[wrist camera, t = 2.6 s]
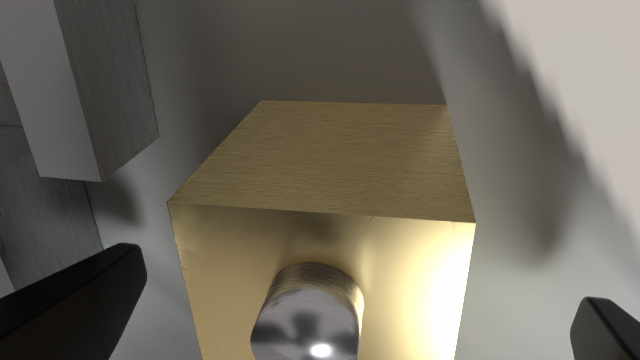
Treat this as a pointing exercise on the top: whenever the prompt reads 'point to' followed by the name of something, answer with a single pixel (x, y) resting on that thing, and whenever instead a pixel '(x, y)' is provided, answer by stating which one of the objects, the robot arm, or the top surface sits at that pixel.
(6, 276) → the studded rectangular link
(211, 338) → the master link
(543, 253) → the top surface
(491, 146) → the top surface
